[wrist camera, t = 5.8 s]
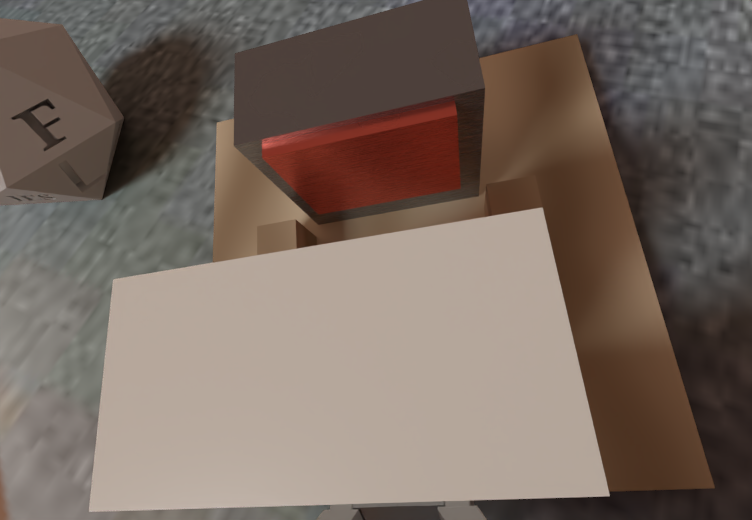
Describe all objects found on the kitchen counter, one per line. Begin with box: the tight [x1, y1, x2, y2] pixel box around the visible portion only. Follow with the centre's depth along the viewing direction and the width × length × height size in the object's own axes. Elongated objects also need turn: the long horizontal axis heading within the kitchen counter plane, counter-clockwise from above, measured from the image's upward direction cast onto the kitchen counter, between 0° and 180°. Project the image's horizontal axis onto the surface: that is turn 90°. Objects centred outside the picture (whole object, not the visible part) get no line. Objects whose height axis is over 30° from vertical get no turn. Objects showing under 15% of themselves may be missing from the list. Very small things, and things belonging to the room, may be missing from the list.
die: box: [0, 18, 124, 206], centre depth 18 cm, size 8×9×10 cm
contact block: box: [234, 0, 485, 225], centre depth 13 cm, size 6×3×6 cm, turn 96°
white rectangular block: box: [89, 208, 610, 512], centre depth 9 cm, size 6×3×9 cm, turn 96°
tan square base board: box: [213, 34, 715, 492], centre depth 14 cm, size 16×16×4 cm
